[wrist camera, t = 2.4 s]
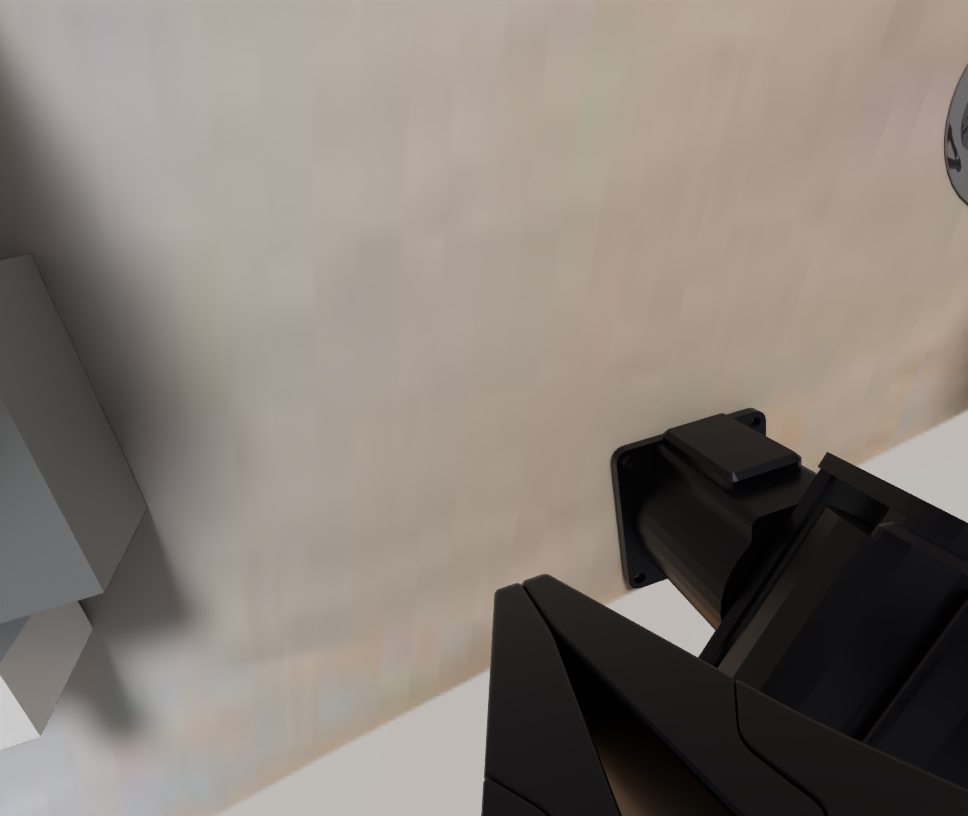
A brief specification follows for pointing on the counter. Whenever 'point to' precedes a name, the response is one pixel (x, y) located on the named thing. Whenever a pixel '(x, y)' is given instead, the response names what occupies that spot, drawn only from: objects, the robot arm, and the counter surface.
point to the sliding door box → (54, 460)
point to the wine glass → (958, 138)
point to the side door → (37, 668)
